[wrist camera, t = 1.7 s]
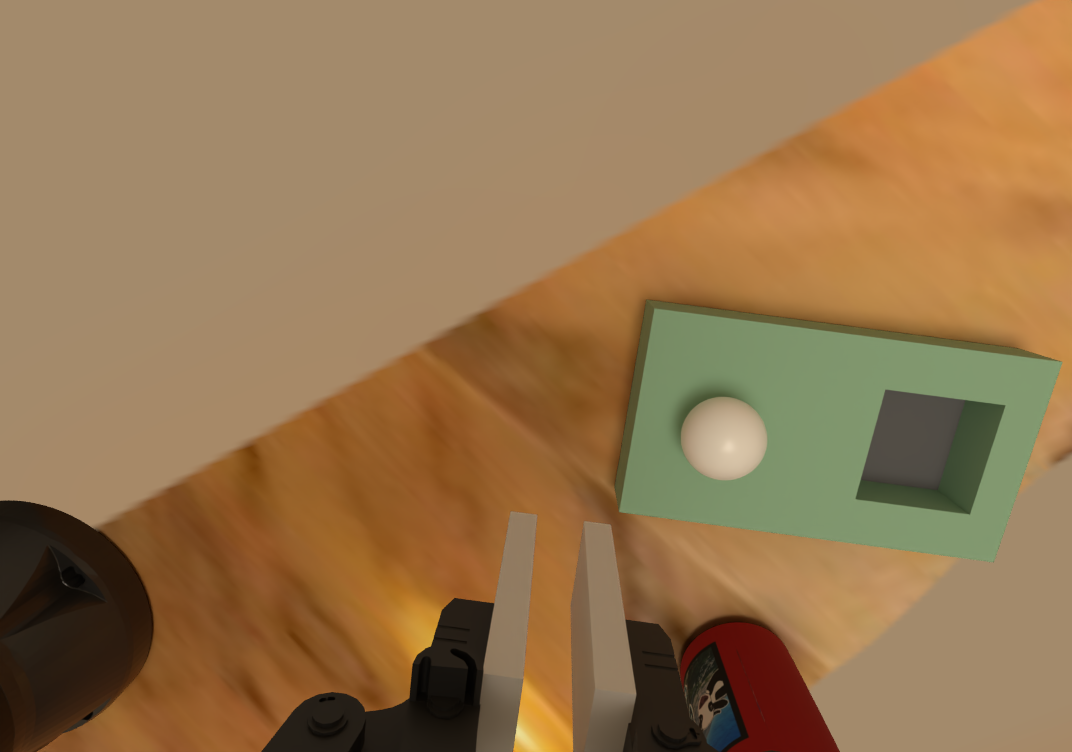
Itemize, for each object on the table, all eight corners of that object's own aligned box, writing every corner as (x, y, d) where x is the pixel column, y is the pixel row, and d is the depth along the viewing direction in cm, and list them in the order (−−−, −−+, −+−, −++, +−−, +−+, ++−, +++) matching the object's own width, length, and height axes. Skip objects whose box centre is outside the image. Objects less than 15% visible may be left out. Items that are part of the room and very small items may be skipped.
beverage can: (664, 629, 40) (705, 803, 28) (772, 601, 39) (861, 767, 27) (693, 717, 41) (744, 916, 30) (798, 691, 40) (893, 886, 29)
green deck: (614, 487, 37) (619, 512, 34) (646, 299, 35) (654, 308, 32) (957, 533, 37) (993, 562, 34) (1017, 348, 35) (1062, 362, 31)
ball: (668, 456, 33) (681, 488, 30) (681, 382, 32) (698, 405, 29) (744, 466, 33) (768, 499, 30) (761, 392, 32) (788, 417, 29)
